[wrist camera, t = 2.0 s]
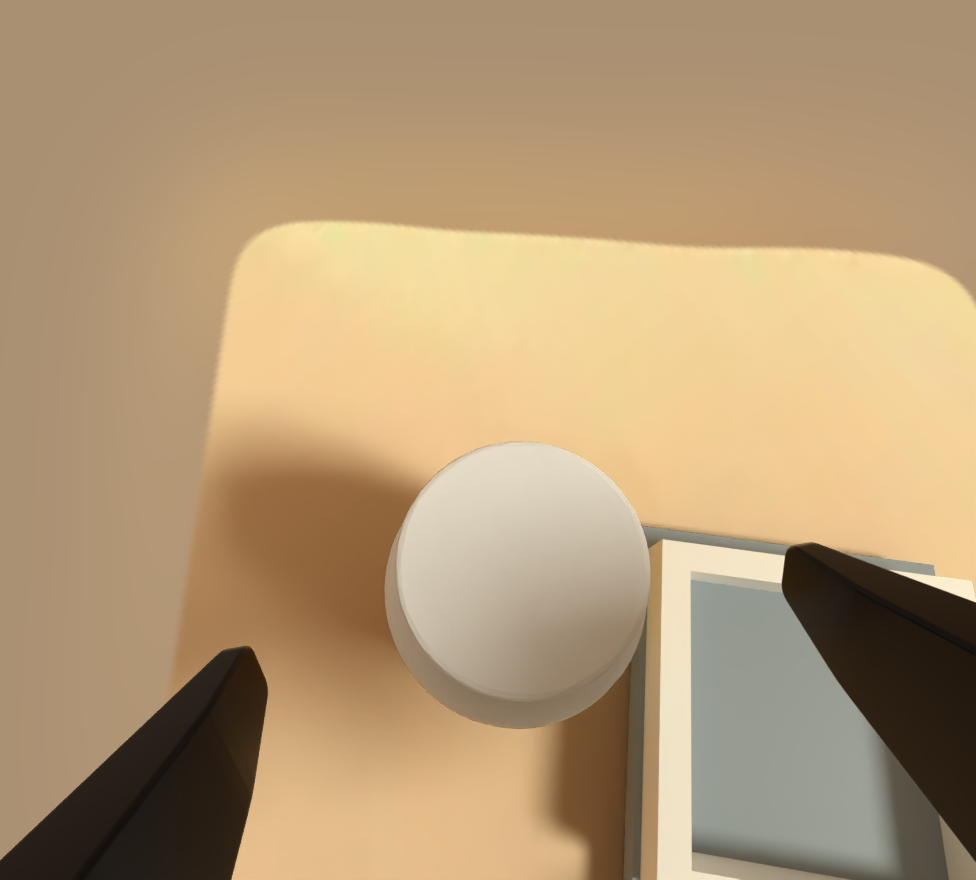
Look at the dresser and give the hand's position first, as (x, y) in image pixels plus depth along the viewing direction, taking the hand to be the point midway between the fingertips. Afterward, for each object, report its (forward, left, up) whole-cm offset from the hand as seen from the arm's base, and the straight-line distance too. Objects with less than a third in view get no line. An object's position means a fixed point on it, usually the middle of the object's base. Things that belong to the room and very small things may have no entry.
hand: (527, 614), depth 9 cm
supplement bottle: (+1, 0, -9) cm, 9 cm away
